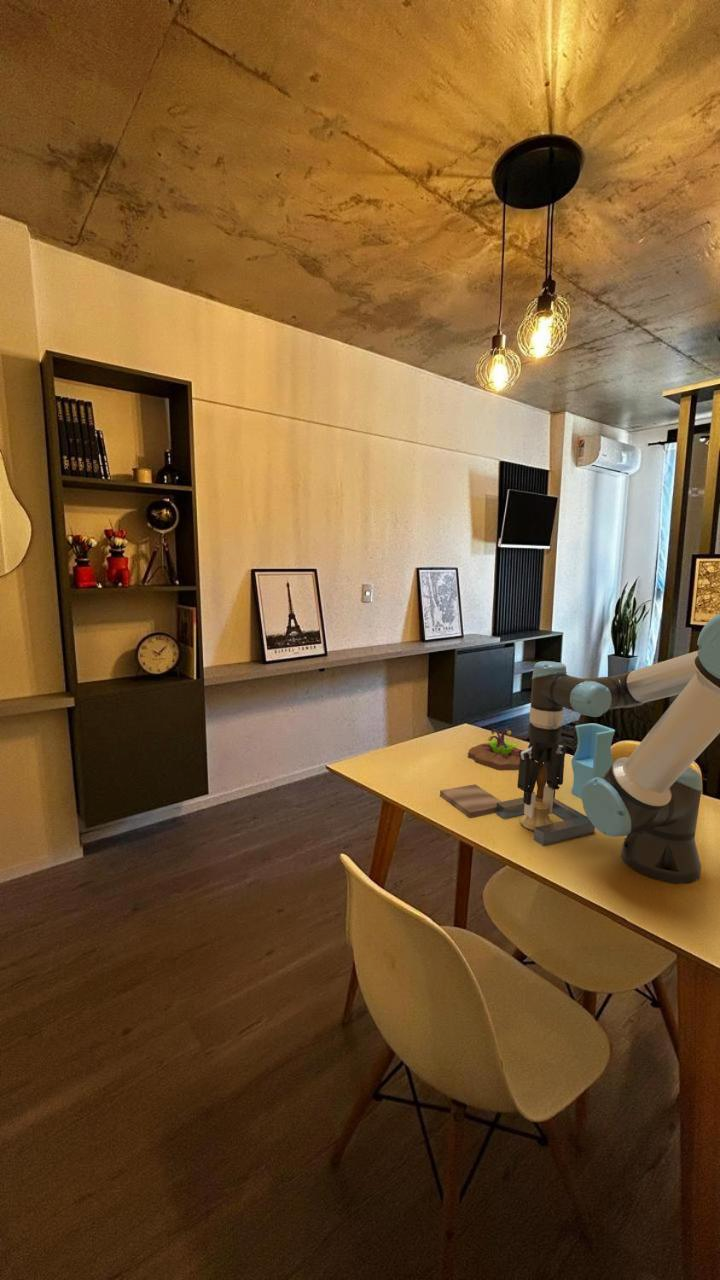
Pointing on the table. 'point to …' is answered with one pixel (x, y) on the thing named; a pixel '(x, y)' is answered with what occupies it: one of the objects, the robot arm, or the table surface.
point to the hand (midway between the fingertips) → (538, 813)
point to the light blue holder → (591, 754)
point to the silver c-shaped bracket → (554, 832)
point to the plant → (496, 753)
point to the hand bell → (538, 804)
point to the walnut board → (471, 800)
